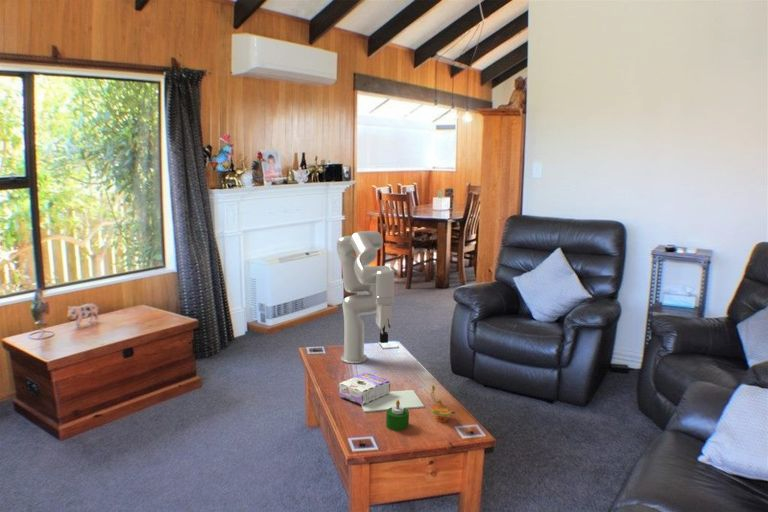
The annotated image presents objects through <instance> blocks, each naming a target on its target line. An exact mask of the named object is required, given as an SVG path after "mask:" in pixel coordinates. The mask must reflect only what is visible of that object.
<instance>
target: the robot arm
mask: <svg viewBox="0 0 768 512" xmlns="http://www.w3.org/2000/svg"><path fill="white" fill-rule="evenodd" d="M383 244H384V238H383V235H382V234H381V233H380V232H379V231H378V230H362V231H361V230H360V231H355V232H354V233H353V234H351V235H344V236H342V237H339V238H338V240H337V241H336V251H337V254H338V258H339V260H340V263H341V269H342V271H341V272H342V279H343V288H344V290H345V292H347V293H366V294H356V295H349V296H346V297H344V298H343V300H342V311H343V313H342V314H343V321H344V323H343V324H344V325H343V326H344V331H343V332H344V333H343V338H344V339H343V340H344V341H343V342H344V344H343V345H344V347H343V348H344V349H343V354H342V355H341V357H340V360H341V361H342V362H344V363H346V364H354V363H355V364H360V363H364V362H365V363H366V361H367V359H368V356H367V354H365V323H364V321H363V320H362V319H361V317H360V316H363V315H372V314H375V324H376V325H377V326H378V328H379V343H380V344H384V343H385V344H388V343H389V329H391V328H392V323H393V321H392V320H393V316H392V314H393V312H392V311H393V310H392V307H393V306H392V305H394V303H395V272H394V271H393V270H391V268H390V267H389V266H387V265H373V266H368V265H369V264H371V263H373V262H374V261H375V260H376V259H377V257H378V250H380V249H382V248H383ZM354 254H356V255H357V256H355V255H354Z"/></svg>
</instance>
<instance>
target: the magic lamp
mask: <svg viewBox="0 0 768 512" xmlns="http://www.w3.org/2000/svg"><path fill="white" fill-rule="evenodd" d="M435 390H436V386H435V385H434V384H433V385H432V386H431V394H430V395H431V399H432V401H433V405H432V406H431V413H433V414H434V415H435V416H433V420H434V421H435V422H437V423H438V422H440V423H441V422H442V423H443V422H446V421H447V420H448V418H447V417H449V416H452V415H457V412H456V411H451V408H450V407H449V406H448V405H445V404H443V403H442V400H441V399H438V400H436V397H435V393H434V392H435Z"/></svg>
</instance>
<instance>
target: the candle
mask: <svg viewBox="0 0 768 512" xmlns="http://www.w3.org/2000/svg"><path fill="white" fill-rule="evenodd" d="M399 405H400V402H399V400H397V401H396V406H394V407H392V408H389V409H388V410H387V411H385V412H386V418H385V423H386V428H387V429H388V430H391V431H395V432H400V431H401V432H402V431H404V430H407V429H408V428H409V426H410V425H409V424H410V423H409V422H410V421H409V420H410V411H409V409H406V408H403V407H401V406H399Z"/></svg>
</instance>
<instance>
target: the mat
mask: <svg viewBox="0 0 768 512" xmlns="http://www.w3.org/2000/svg"><path fill="white" fill-rule="evenodd" d="M397 400H399V402H400V405H399V406H401V407H403V408H406V409H407V410H410V409H411V410H412V409H420V408H424V407H425V406H424V404H423V402H422V401H421V399H420V398H419V396H418V395H417V393H416V392H415V390H414V389H407V390H395V391H394V390H393V391H392V390H391V391H390V394H388V395H385V396H383V397H380V398H378V399H376V400H373V401H371V402H369V403H366V404H364V405H361V404H360V406H361V408H362V411H363V413H372V412H373V413H374V412H375V413H376V412H384V411H385V412H386V411H387V410H388V409H389V408H392V407H394V406H396V401H397Z"/></svg>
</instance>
